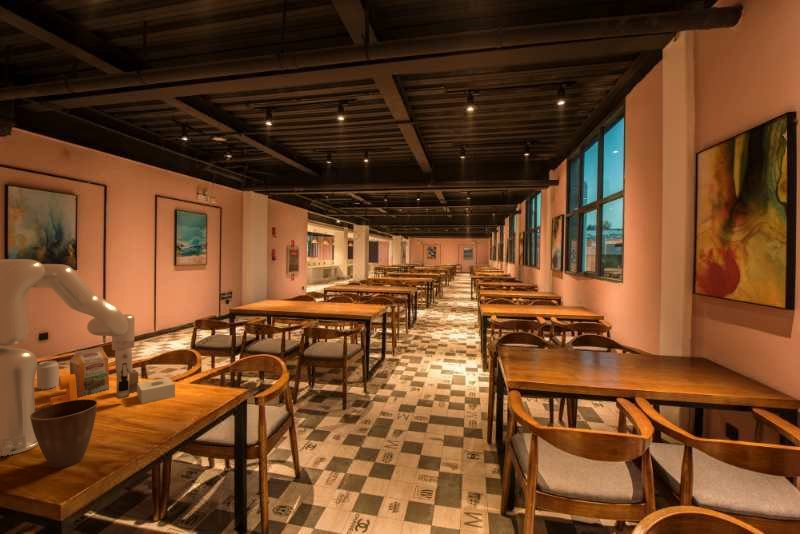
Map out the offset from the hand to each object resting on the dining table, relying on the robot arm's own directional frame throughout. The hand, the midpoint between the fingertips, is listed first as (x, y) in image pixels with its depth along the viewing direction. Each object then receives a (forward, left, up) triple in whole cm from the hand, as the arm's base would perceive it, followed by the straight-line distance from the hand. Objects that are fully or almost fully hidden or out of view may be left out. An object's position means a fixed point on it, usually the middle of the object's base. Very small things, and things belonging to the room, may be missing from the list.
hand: (122, 388), depth 158 cm
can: (+47, +23, -6) cm, 52 cm away
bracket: (+15, +18, -6) cm, 24 cm away
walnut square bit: (+15, -4, -6) cm, 16 cm away
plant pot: (-43, +18, -6) cm, 48 cm away
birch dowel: (0, 0, -3) cm, 3 cm away
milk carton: (+28, +9, -6) cm, 30 cm away
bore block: (+1, -12, -6) cm, 13 cm away
